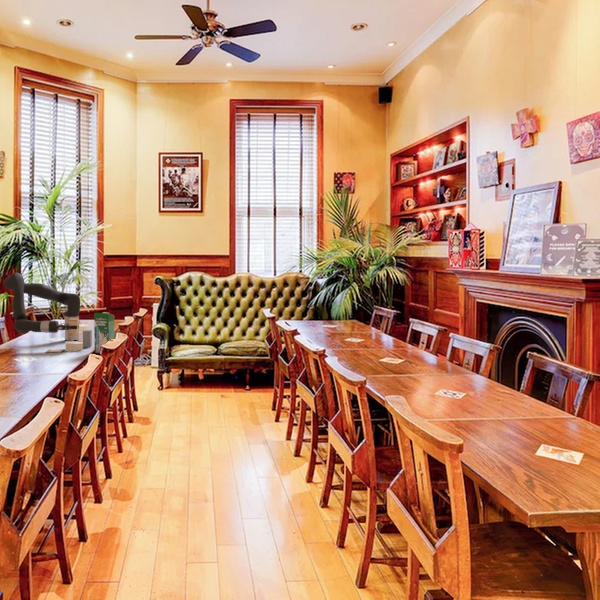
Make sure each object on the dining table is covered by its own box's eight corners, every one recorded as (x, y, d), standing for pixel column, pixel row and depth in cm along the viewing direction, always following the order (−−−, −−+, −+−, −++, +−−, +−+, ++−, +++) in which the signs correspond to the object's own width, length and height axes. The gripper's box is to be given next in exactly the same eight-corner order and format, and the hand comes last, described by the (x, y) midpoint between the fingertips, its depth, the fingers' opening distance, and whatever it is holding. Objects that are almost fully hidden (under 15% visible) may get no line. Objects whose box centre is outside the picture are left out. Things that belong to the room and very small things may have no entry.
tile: (49, 350, 345) (49, 349, 345) (64, 350, 347) (64, 349, 347) (45, 352, 336) (45, 351, 336) (60, 352, 338) (60, 351, 338)
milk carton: (114, 351, 348) (114, 311, 346) (108, 353, 339) (108, 313, 337) (101, 350, 349) (100, 311, 347) (94, 352, 340) (94, 312, 338)
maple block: (70, 335, 350) (70, 318, 349) (78, 335, 351) (78, 318, 350) (68, 336, 345) (68, 319, 345) (76, 336, 346) (76, 319, 346)
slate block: (84, 346, 363) (84, 330, 362) (92, 346, 364) (91, 329, 363) (82, 347, 358) (82, 330, 357) (90, 347, 359) (90, 330, 358)
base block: (65, 349, 352) (65, 341, 351) (82, 348, 356) (82, 341, 355) (65, 352, 343) (65, 344, 342) (82, 351, 347) (82, 343, 346)
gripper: (46, 322, 338) (75, 322, 341) (52, 319, 352) (80, 319, 355) (46, 334, 338) (75, 334, 342) (52, 331, 353) (80, 331, 356)
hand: (78, 326), depth 348 cm, fingers closed on maple block, 4 cm apart
